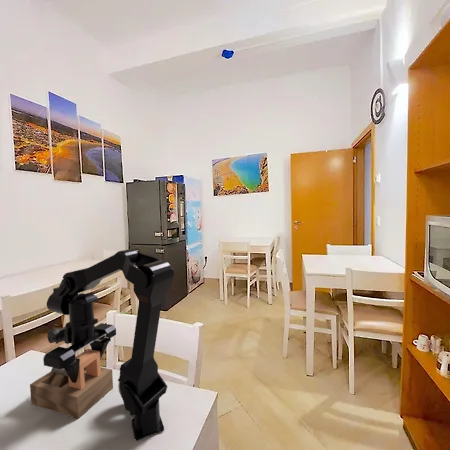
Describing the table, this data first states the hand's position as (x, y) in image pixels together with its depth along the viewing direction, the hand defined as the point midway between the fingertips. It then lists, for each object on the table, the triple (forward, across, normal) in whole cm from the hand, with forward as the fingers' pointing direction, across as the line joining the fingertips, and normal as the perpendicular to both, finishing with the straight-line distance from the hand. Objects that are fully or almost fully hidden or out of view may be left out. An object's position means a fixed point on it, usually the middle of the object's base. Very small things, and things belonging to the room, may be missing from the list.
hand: (85, 374), depth 76 cm
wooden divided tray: (+7, 0, -4) cm, 8 cm away
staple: (+2, 0, 0) cm, 2 cm away
